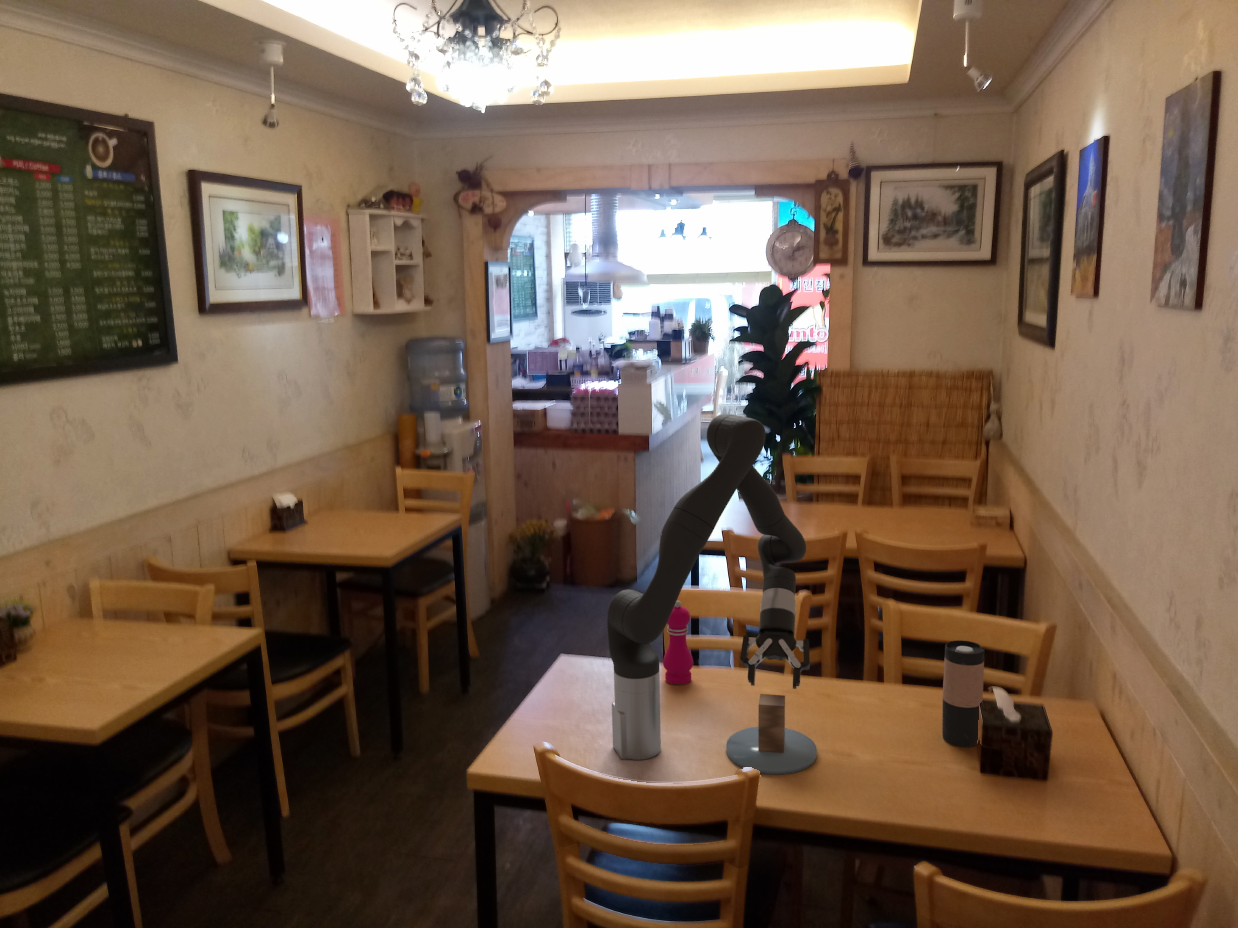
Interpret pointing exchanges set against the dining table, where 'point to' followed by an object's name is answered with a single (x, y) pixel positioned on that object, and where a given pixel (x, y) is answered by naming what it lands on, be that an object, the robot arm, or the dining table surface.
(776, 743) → the walnut block
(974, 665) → the travel mug
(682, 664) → the pepper mill
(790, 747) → the slate dish
